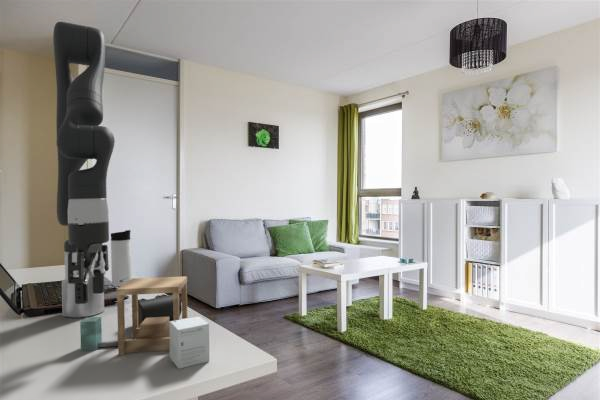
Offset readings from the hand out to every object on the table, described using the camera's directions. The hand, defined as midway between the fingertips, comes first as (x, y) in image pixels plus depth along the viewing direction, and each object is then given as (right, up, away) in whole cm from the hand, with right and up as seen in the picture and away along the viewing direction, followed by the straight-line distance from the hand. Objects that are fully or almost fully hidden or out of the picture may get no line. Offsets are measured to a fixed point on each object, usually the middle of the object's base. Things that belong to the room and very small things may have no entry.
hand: (90, 298), depth 82 cm
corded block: (+7, -10, +1) cm, 13 cm away
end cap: (+8, -11, +15) cm, 20 cm away
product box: (+23, -11, -7) cm, 26 cm away
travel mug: (-18, -10, +55) cm, 59 cm away
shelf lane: (+13, -10, +2) cm, 17 cm away
